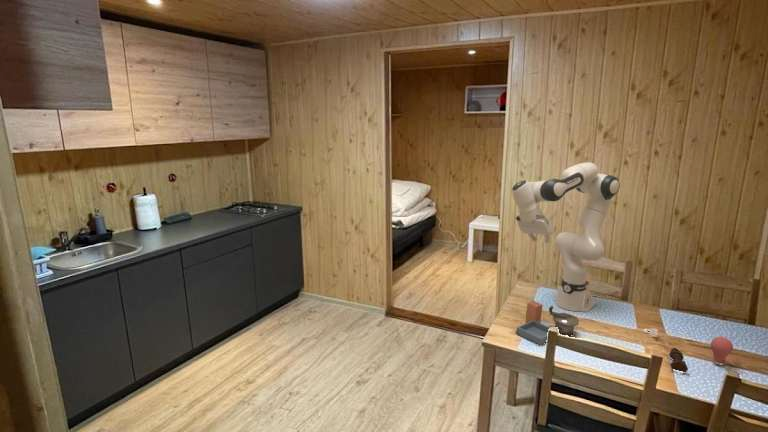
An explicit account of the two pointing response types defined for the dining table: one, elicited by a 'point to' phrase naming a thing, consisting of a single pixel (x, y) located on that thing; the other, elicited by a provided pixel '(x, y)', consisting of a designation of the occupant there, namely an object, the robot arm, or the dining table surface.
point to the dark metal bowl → (564, 322)
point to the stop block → (534, 311)
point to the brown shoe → (677, 360)
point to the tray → (533, 332)
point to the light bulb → (721, 348)
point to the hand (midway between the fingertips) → (541, 241)
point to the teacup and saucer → (652, 331)
